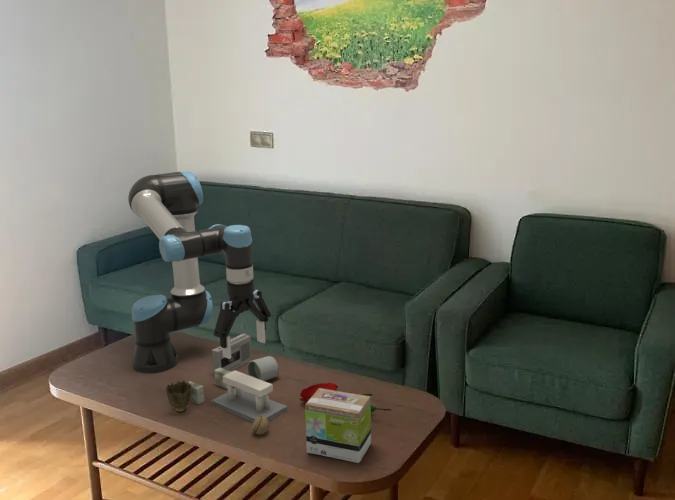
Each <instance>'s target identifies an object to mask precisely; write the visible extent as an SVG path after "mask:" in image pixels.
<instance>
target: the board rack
mask: <svg viewBox="0 0 675 500" xmlns="http://www.w3.org/2000/svg"><path fill="white" fill-rule="evenodd" d="M214 372H215V375H214V380H215V381H214V382H215V385H216V386H218V387H221V388H223V389H226V390H228V385H227V384H226V383H224V382H223V376H224V375H226V374H228V373H230V372H231V371H228V370H225V369H223V368H218V369H216V370H214ZM214 372H213V373H214ZM188 382H189V384H190V383H191V401H190V402H192V403H194V404H197V405H200V404H202V403H204V402H205V391H204V386H203V385H201V384H198V383H196V382H194V381H191V380H190V381H187V382H186V383H188ZM233 388H235V387H234V386H233Z"/></svg>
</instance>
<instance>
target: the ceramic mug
mask: <svg viewBox="0 0 675 500" xmlns="http://www.w3.org/2000/svg"><path fill="white" fill-rule="evenodd" d="M246 368H247V369H246V371H247V375H249V376H252V377H254V378H257V379H260V380H262V381H265V382H267V381H269V380H271V379H274V378H275V377H277V376H278V374H279V373H280V366H279V363H278V361H277V359H276V358H275V357H274V356H269V355H268V356H264V357H261V358H256V359H252V360H251V361H249V362H247V365H246Z"/></svg>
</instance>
